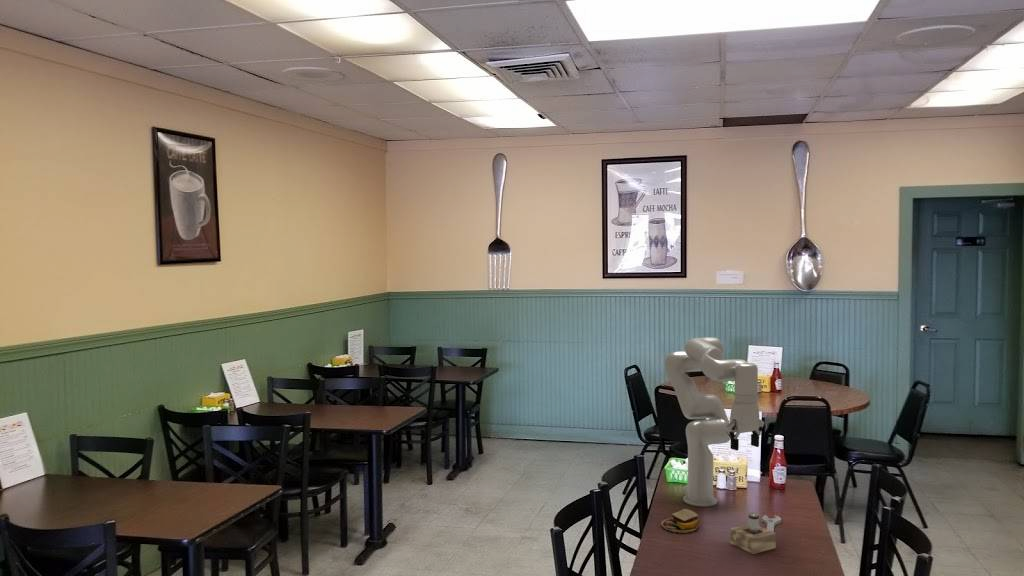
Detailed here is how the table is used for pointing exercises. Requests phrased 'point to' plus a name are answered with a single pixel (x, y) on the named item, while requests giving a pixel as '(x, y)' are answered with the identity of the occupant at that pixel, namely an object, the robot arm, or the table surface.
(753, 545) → the block
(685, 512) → the toy sandwich meal
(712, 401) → the robot arm
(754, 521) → the metal peg
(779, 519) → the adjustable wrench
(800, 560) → the table surface
